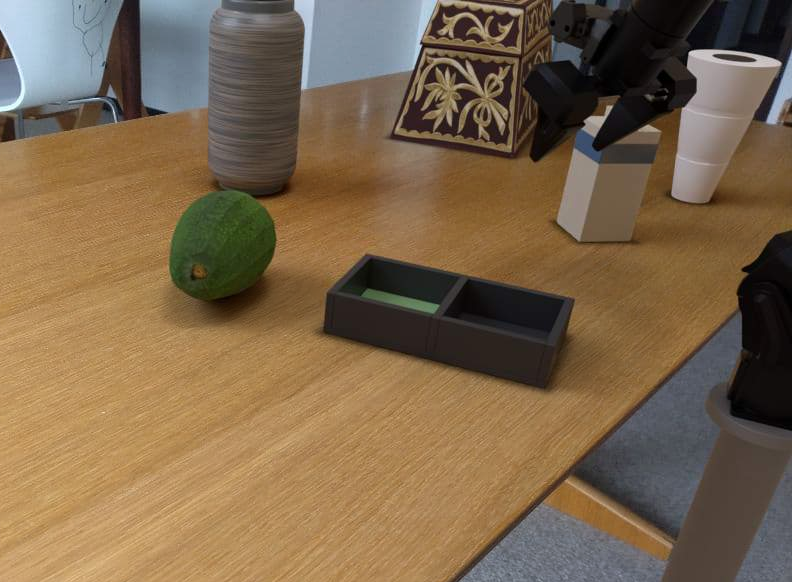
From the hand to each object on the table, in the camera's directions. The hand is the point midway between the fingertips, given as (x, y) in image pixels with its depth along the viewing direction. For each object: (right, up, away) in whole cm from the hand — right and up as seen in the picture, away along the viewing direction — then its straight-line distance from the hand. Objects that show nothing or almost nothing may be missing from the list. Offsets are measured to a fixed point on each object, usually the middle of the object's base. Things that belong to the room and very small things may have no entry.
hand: (564, 154), depth 90 cm
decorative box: (+6, +22, +59) cm, 63 cm away
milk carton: (+9, -5, +17) cm, 20 cm away
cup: (+28, +2, +29) cm, 40 cm away
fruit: (-36, -15, -2) cm, 39 cm away
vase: (-32, +3, +27) cm, 42 cm away
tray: (-14, -19, -8) cm, 25 cm away
